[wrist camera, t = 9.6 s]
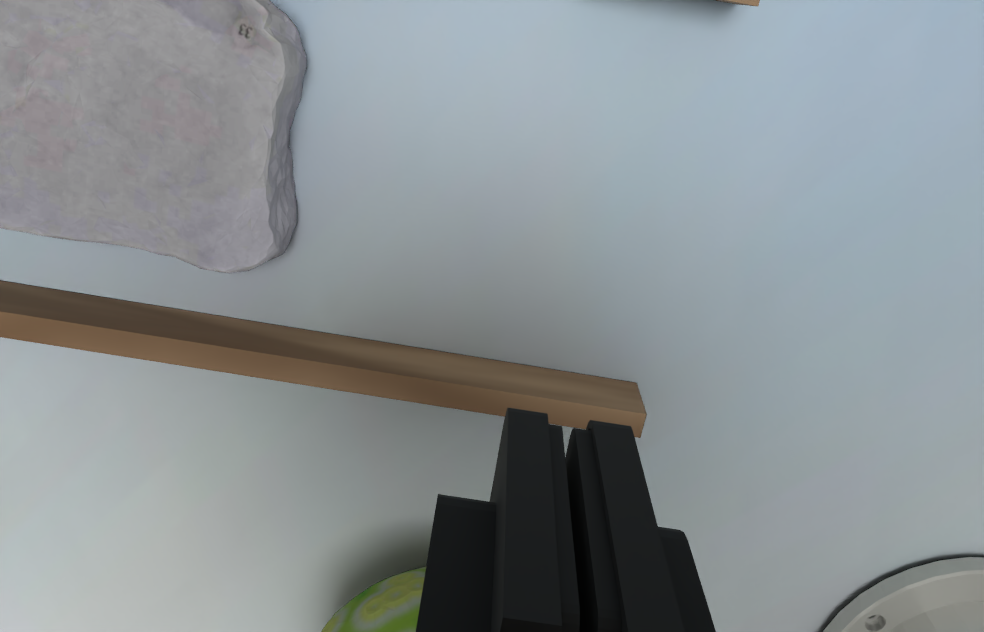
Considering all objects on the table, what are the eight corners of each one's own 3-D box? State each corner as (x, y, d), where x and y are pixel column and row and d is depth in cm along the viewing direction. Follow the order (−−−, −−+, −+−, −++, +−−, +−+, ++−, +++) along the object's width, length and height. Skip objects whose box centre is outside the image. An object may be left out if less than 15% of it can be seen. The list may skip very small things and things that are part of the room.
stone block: (-8, -83, 28) (-32, 206, 30) (-100, -131, 23) (-122, 216, 25) (338, -6, 29) (295, 268, 31) (317, -37, 24) (267, 288, 26)
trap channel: (631, 405, 32) (646, 460, 28) (-91, 290, 31) (-173, 332, 27) (787, -189, 24) (836, -220, 21) (-165, -374, 23) (-293, -441, 20)
